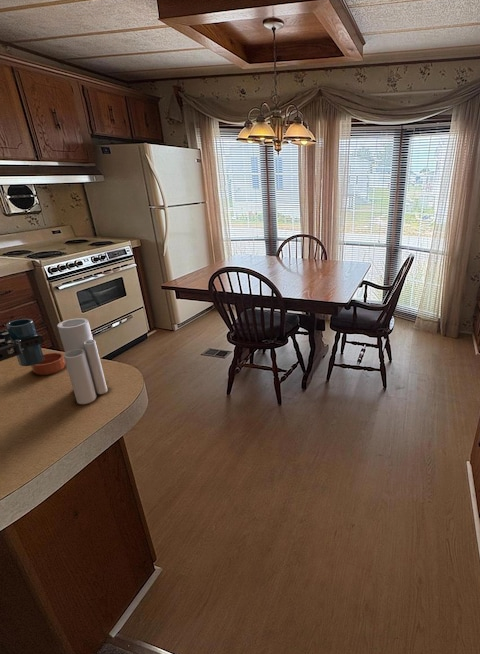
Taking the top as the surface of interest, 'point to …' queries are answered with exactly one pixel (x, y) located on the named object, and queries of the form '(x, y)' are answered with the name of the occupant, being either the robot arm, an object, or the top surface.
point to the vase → (82, 360)
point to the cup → (22, 330)
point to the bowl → (49, 364)
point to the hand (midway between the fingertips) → (38, 335)
